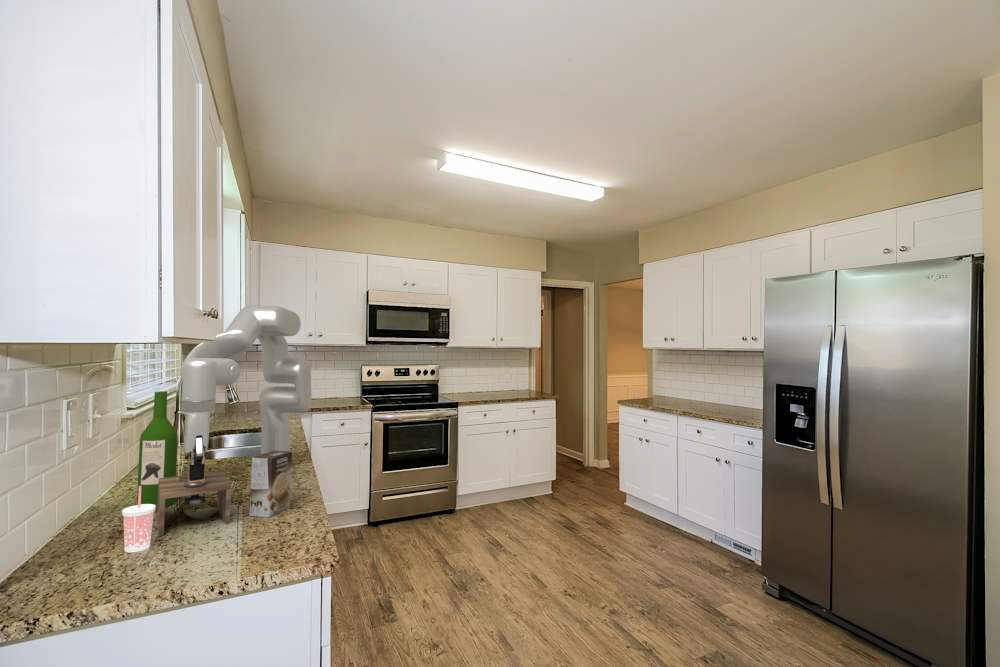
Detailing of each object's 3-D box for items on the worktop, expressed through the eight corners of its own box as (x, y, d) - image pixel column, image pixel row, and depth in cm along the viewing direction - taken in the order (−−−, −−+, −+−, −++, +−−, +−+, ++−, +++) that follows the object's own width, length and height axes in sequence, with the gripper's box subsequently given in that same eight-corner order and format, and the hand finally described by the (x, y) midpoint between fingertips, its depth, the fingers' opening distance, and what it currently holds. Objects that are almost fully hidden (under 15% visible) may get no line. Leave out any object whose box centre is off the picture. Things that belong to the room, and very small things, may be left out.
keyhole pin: (182, 501, 123) (184, 457, 123) (205, 498, 126) (207, 454, 126) (184, 507, 119) (185, 460, 119) (207, 503, 122) (209, 458, 122)
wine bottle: (132, 512, 130) (137, 393, 131) (141, 502, 138) (146, 390, 139) (171, 508, 134) (175, 392, 135) (178, 498, 142) (182, 390, 143)
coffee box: (269, 518, 127) (271, 458, 128) (248, 516, 129) (250, 456, 129) (291, 507, 136) (292, 451, 137) (271, 505, 138) (273, 449, 138)
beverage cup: (157, 541, 111) (160, 481, 112) (148, 552, 105) (151, 488, 106) (126, 544, 109) (129, 483, 110) (115, 555, 103) (118, 491, 104)
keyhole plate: (157, 515, 128) (158, 478, 128) (221, 505, 137) (222, 470, 137) (158, 536, 114) (160, 494, 114) (229, 523, 123) (230, 484, 123)
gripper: (179, 404, 128) (176, 472, 127) (183, 411, 114) (180, 487, 114) (211, 402, 132) (209, 468, 132) (219, 409, 119) (216, 483, 118)
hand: (195, 476), depth 123 cm, fingers open, 4 cm apart
